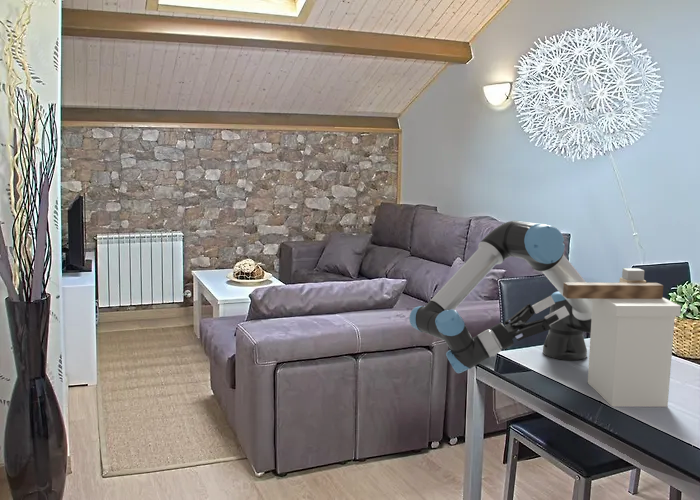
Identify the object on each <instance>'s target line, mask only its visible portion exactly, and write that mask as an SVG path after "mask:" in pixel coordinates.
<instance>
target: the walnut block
mask: <svg viewBox="0 0 700 500" xmlns="http://www.w3.org/2000/svg"><path fill="white" fill-rule="evenodd" d="M663 295H664V285H663V284H661V283H658V282H646V283H619V282H589V281H588V282H587V281H585V282H564V283H563V296H564V297H566V298H567V299H663V298H664V296H663Z"/></svg>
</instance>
